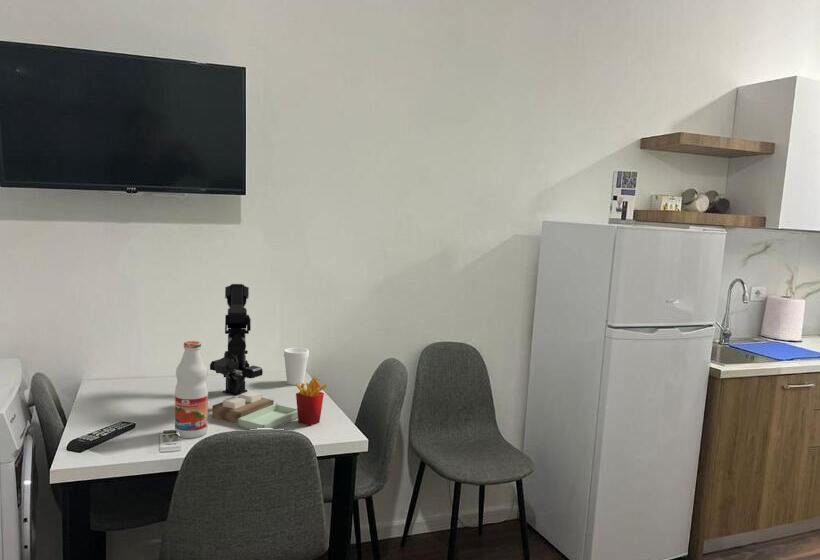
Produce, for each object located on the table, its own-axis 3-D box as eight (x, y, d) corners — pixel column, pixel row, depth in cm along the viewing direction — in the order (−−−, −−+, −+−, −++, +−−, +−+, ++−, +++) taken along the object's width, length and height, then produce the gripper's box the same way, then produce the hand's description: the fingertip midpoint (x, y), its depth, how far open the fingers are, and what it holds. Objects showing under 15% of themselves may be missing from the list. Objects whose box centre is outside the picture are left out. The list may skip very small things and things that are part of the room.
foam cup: (305, 387, 254) (306, 353, 252) (281, 385, 254) (282, 352, 252) (309, 380, 263) (310, 348, 262) (286, 379, 263) (287, 347, 262)
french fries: (293, 423, 214) (295, 377, 212) (310, 416, 221) (312, 372, 219) (315, 429, 209) (316, 383, 207) (331, 422, 216) (333, 377, 214)
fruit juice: (213, 429, 204) (214, 340, 201) (198, 440, 195) (199, 347, 191) (184, 426, 206) (185, 338, 202) (168, 436, 196) (169, 344, 193)
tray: (237, 426, 208) (237, 418, 208) (276, 410, 225) (276, 403, 225) (264, 433, 203) (264, 425, 203) (301, 416, 220) (301, 409, 220)
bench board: (212, 417, 215) (212, 405, 214) (245, 405, 229) (246, 393, 228) (240, 424, 209) (241, 412, 209) (273, 411, 224) (273, 400, 223)
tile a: (239, 400, 221) (239, 394, 221) (249, 396, 226) (250, 390, 226) (251, 402, 219) (251, 397, 219) (261, 399, 224) (261, 393, 223)
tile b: (222, 406, 214) (222, 400, 214) (233, 402, 219) (233, 396, 218) (234, 409, 212) (234, 403, 212) (245, 405, 216) (245, 399, 216)
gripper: (198, 348, 220) (197, 393, 222) (241, 356, 212) (240, 404, 214) (222, 342, 230) (221, 386, 232) (264, 350, 222) (262, 395, 224)
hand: (235, 393), depth 225 cm, fingers closed
